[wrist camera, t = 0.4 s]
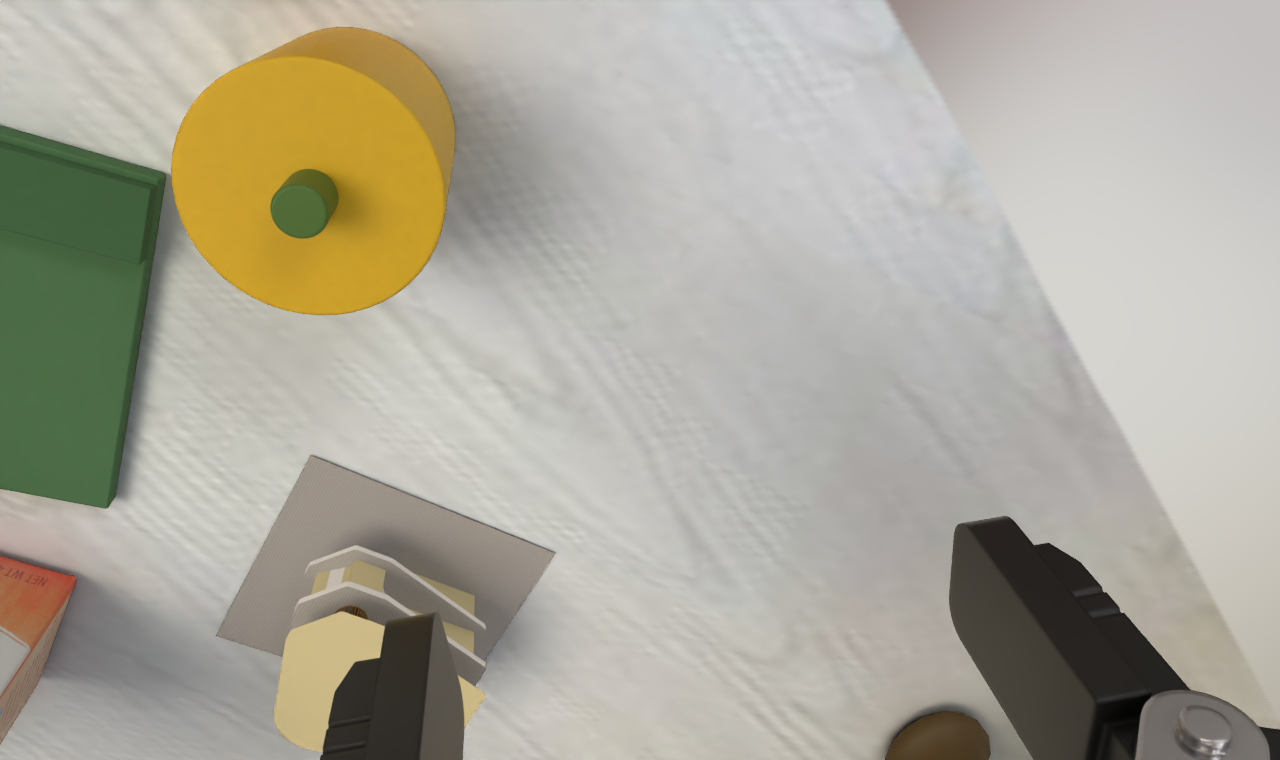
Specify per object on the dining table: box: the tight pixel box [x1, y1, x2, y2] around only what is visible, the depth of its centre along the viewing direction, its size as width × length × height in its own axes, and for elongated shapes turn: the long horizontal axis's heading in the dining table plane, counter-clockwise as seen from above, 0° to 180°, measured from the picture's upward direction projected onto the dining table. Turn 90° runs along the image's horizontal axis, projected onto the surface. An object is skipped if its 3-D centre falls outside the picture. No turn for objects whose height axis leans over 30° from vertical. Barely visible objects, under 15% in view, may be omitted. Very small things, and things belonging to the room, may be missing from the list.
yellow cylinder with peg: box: [171, 27, 455, 315], centre depth 24 cm, size 6×6×10 cm
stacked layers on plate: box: [216, 456, 555, 752], centre depth 33 cm, size 10×9×6 cm
